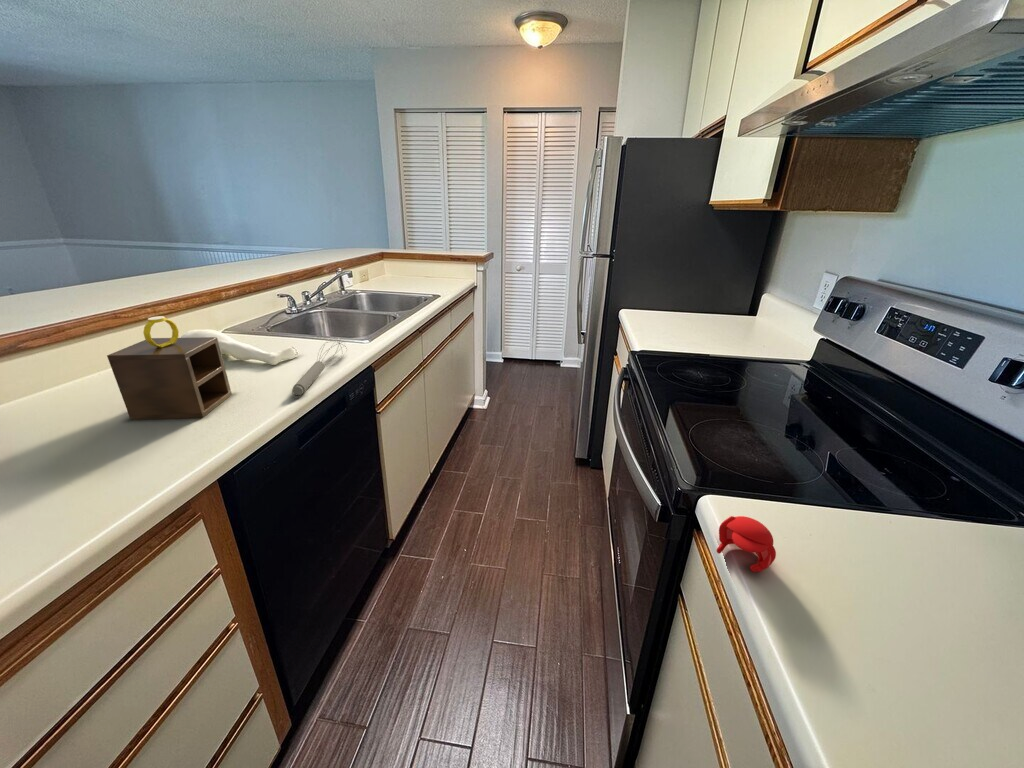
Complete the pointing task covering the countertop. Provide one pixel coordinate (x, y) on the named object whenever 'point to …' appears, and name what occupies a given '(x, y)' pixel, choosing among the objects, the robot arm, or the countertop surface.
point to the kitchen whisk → (312, 373)
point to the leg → (243, 348)
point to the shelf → (171, 378)
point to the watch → (156, 320)
